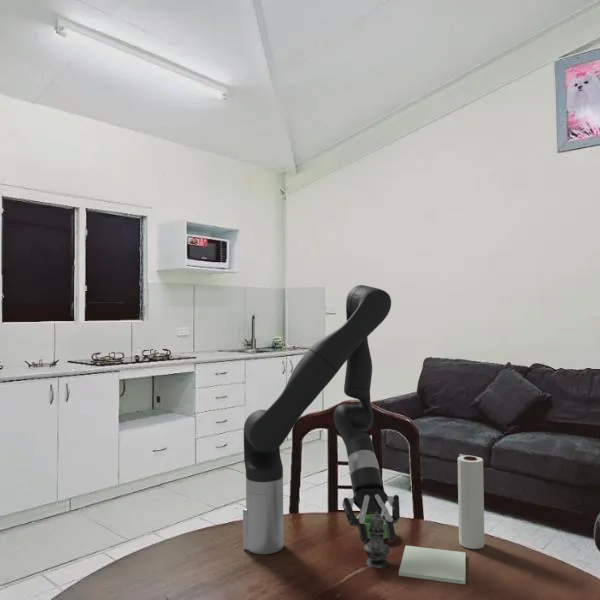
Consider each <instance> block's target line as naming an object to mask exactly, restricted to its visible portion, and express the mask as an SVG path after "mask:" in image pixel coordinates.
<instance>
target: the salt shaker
mask: <svg viewBox="0 0 600 600" xmlns="http://www.w3.org/2000/svg"><path fill="white" fill-rule="evenodd" d="M375 513H376V514H374V515H372V516H371V518H370V529H369V532H370V540H369V541H368V543H367V544H365V545H364V546H363V549H364V551H365V554H366V557H367V559H366V560H365V565H366V564H367V565H368V566H367V565H366V566H367V567H369V566H370V567H369V568H371V567H373V568H372V569H375V568H381V569H386V568H387V567H388V566H389V565H388V564H389V562H388V560H387V559H386V558H387V557H388V554H389V552H390V546H389V545H388V544H386V543H385V541H384V540H383V533H384V532H385V531H384V530H383V518H382V516H380V515H378V514H377V513H378V512H377V511H376V512H375Z"/></svg>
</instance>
